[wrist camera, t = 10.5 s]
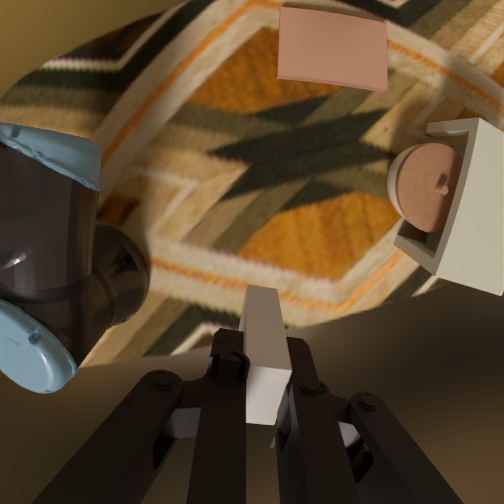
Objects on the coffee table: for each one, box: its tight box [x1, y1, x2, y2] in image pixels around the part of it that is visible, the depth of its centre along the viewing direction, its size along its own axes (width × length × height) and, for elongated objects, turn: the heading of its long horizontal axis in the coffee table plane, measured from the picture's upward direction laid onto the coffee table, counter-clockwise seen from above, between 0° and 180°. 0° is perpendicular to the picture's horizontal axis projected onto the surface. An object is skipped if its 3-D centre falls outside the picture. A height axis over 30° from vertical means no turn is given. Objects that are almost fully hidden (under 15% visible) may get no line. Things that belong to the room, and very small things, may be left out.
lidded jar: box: [387, 142, 463, 233], centre depth 36 cm, size 11×11×9 cm
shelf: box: [394, 117, 504, 296], centre depth 34 cm, size 12×18×12 cm, turn 166°
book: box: [277, 7, 387, 92], centre depth 35 cm, size 14×10×2 cm
